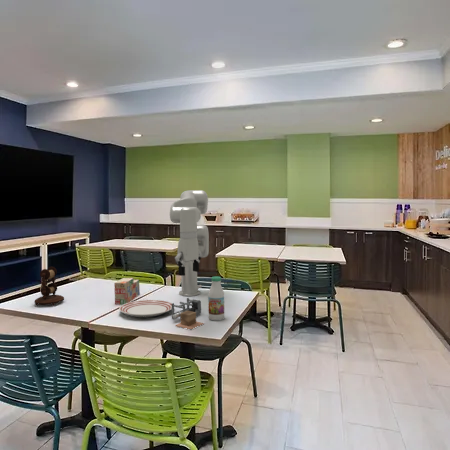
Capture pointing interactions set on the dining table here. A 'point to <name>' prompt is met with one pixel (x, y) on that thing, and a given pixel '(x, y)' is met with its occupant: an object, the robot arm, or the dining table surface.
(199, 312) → the cage
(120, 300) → the stack of blocks
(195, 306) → the plunger
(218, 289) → the milk bottle
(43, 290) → the wooden spool stand
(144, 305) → the dinner plate
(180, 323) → the coaster
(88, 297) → the dining table surface
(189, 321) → the cube
